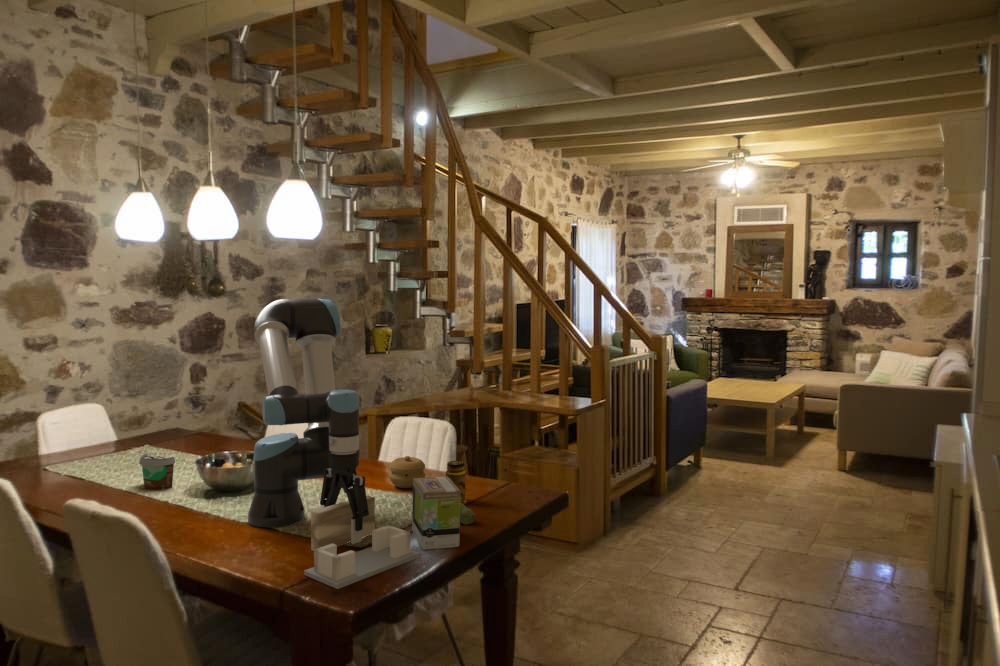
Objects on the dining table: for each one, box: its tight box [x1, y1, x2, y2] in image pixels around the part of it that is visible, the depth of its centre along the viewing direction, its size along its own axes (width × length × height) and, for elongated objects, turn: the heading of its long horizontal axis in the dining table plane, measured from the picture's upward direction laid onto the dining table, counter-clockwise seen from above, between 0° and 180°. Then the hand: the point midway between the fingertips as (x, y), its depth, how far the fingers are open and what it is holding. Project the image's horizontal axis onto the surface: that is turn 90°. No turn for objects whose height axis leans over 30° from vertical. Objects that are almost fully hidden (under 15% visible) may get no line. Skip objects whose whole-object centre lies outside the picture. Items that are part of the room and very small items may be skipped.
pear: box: [460, 503, 477, 526], centre depth 208 cm, size 6×5×10 cm
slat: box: [310, 494, 376, 552], centre depth 190 cm, size 3×18×10 cm, turn 141°
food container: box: [138, 453, 176, 491], centre depth 236 cm, size 12×6×10 cm, turn 68°
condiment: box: [445, 460, 466, 503], centre depth 226 cm, size 7×8×12 cm
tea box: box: [411, 476, 461, 551], centre depth 193 cm, size 15×10×15 cm
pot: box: [388, 455, 426, 489], centre depth 242 cm, size 12×12×10 cm
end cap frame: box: [303, 524, 421, 590], centre depth 175 cm, size 12×25×6 cm, turn 141°
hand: (343, 537), depth 191 cm, fingers open, 9 cm apart
